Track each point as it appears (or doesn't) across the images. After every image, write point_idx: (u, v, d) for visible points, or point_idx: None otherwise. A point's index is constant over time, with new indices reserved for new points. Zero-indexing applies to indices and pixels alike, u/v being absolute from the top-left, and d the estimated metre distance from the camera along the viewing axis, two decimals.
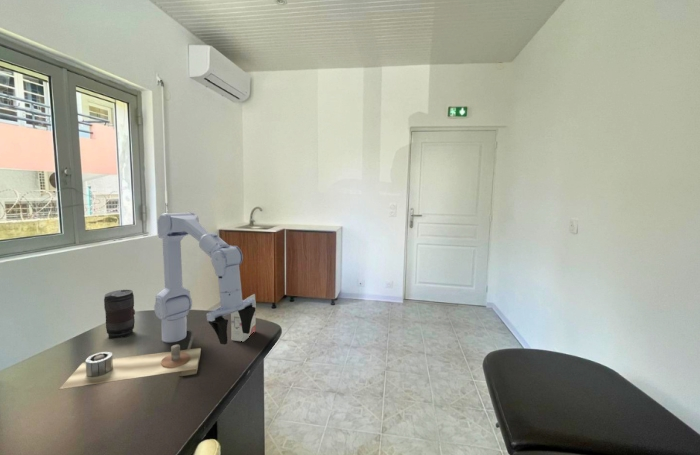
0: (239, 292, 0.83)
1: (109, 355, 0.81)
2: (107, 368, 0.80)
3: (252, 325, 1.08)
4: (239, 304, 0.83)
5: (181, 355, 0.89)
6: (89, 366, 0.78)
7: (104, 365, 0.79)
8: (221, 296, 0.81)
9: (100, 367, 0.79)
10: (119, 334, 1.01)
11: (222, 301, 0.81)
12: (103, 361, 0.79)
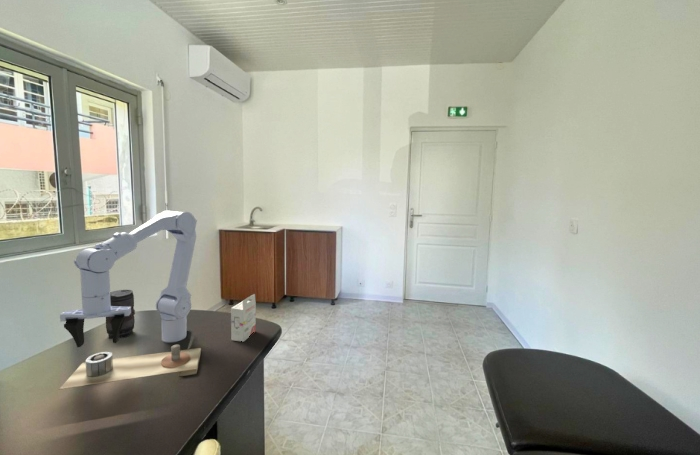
0: (95, 300, 0.76)
1: (109, 355, 0.81)
2: (107, 368, 0.80)
3: (252, 325, 1.08)
4: (93, 312, 0.76)
5: (181, 355, 0.89)
6: (89, 366, 0.78)
7: (104, 365, 0.79)
8: None
9: (100, 367, 0.79)
10: None
11: None
12: (103, 361, 0.79)
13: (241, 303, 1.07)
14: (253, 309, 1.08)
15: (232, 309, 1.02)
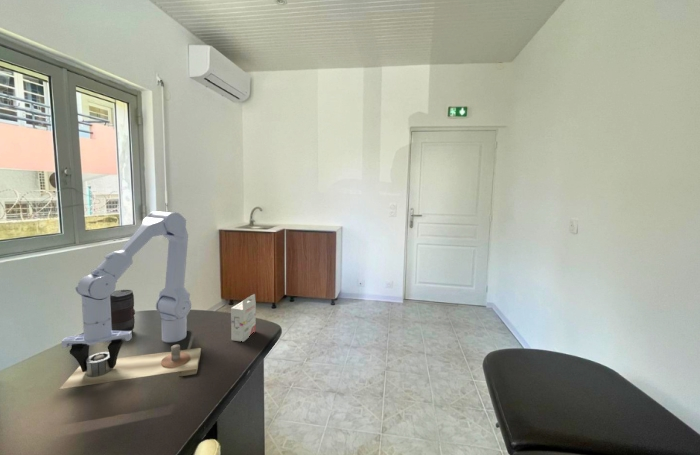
0: (96, 326, 0.77)
1: (109, 355, 0.81)
2: (107, 368, 0.80)
3: (252, 325, 1.08)
4: (94, 338, 0.77)
5: (181, 355, 0.89)
6: (89, 366, 0.78)
7: (104, 365, 0.79)
8: None
9: (100, 367, 0.79)
10: None
11: None
12: (103, 361, 0.79)
13: (241, 303, 1.07)
14: (253, 309, 1.08)
15: (232, 309, 1.02)
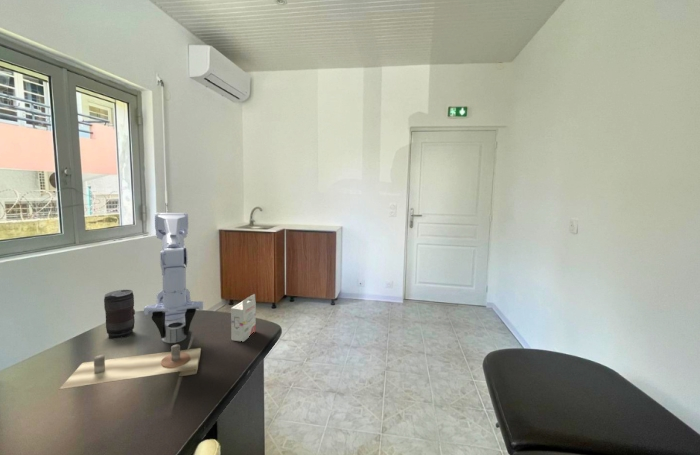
0: (175, 294, 0.83)
1: (183, 323, 0.87)
2: (183, 335, 0.86)
3: (252, 325, 1.08)
4: (173, 306, 0.83)
5: (181, 355, 0.89)
6: (168, 333, 0.83)
7: (181, 332, 0.85)
8: None
9: (177, 334, 0.84)
10: (119, 334, 1.01)
11: None
12: (180, 328, 0.85)
13: (241, 303, 1.07)
14: (253, 309, 1.08)
15: (232, 309, 1.02)
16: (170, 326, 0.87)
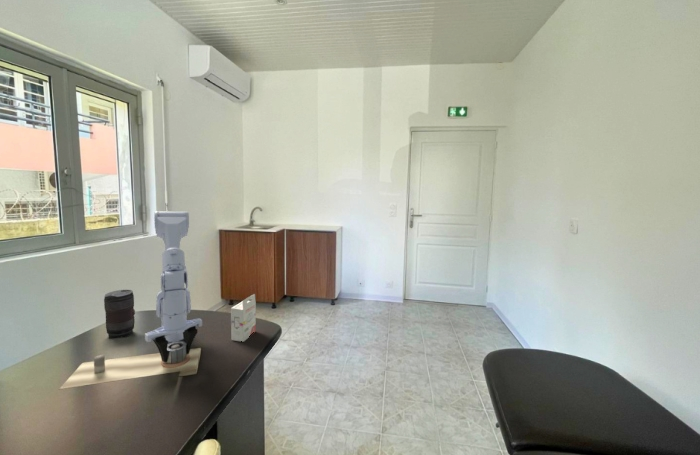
0: (181, 315, 0.85)
1: (183, 342, 0.89)
2: (186, 353, 0.88)
3: (252, 325, 1.08)
4: (180, 327, 0.85)
5: None
6: (175, 354, 0.84)
7: (185, 351, 0.87)
8: (163, 317, 0.84)
9: (183, 353, 0.86)
10: (119, 334, 1.01)
11: (164, 322, 0.84)
12: (184, 347, 0.87)
13: (241, 303, 1.07)
14: (253, 309, 1.08)
15: (232, 309, 1.02)
16: (169, 348, 0.86)
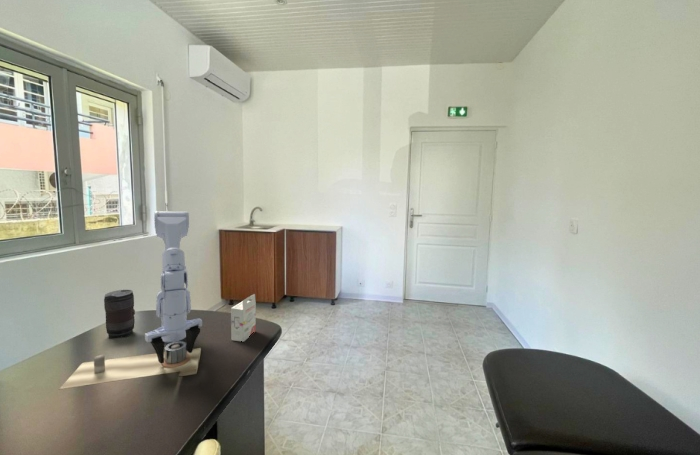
0: (181, 316, 0.85)
1: (183, 342, 0.89)
2: (186, 353, 0.88)
3: (252, 325, 1.08)
4: (180, 327, 0.85)
5: None
6: (175, 354, 0.84)
7: (185, 351, 0.87)
8: (163, 317, 0.84)
9: (183, 353, 0.86)
10: (119, 334, 1.01)
11: (164, 322, 0.84)
12: (185, 347, 0.87)
13: (241, 303, 1.07)
14: (253, 309, 1.08)
15: (232, 309, 1.02)
16: (169, 348, 0.86)
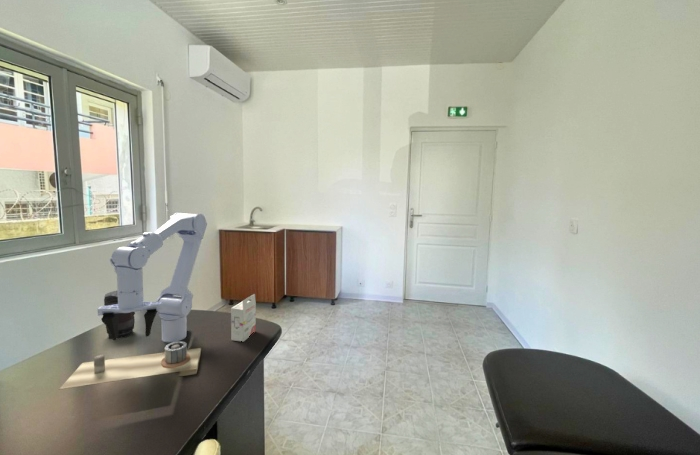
0: (130, 295, 0.81)
1: (183, 342, 0.89)
2: (186, 353, 0.88)
3: (252, 325, 1.08)
4: (128, 307, 0.81)
5: None
6: (175, 354, 0.84)
7: (185, 351, 0.87)
8: None
9: (183, 353, 0.86)
10: (119, 334, 1.01)
11: None
12: (185, 347, 0.87)
13: (241, 303, 1.07)
14: (253, 309, 1.08)
15: (232, 309, 1.02)
16: (169, 348, 0.86)
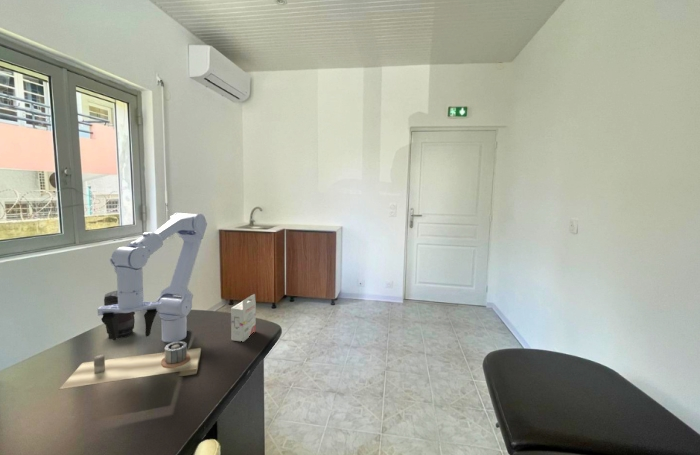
0: (130, 295, 0.81)
1: (183, 342, 0.89)
2: (186, 353, 0.88)
3: (252, 325, 1.08)
4: (128, 307, 0.81)
5: None
6: (175, 354, 0.84)
7: (185, 351, 0.87)
8: None
9: (183, 353, 0.86)
10: (119, 334, 1.01)
11: None
12: (185, 347, 0.87)
13: (241, 303, 1.07)
14: (253, 309, 1.08)
15: (232, 309, 1.02)
16: (169, 348, 0.86)
